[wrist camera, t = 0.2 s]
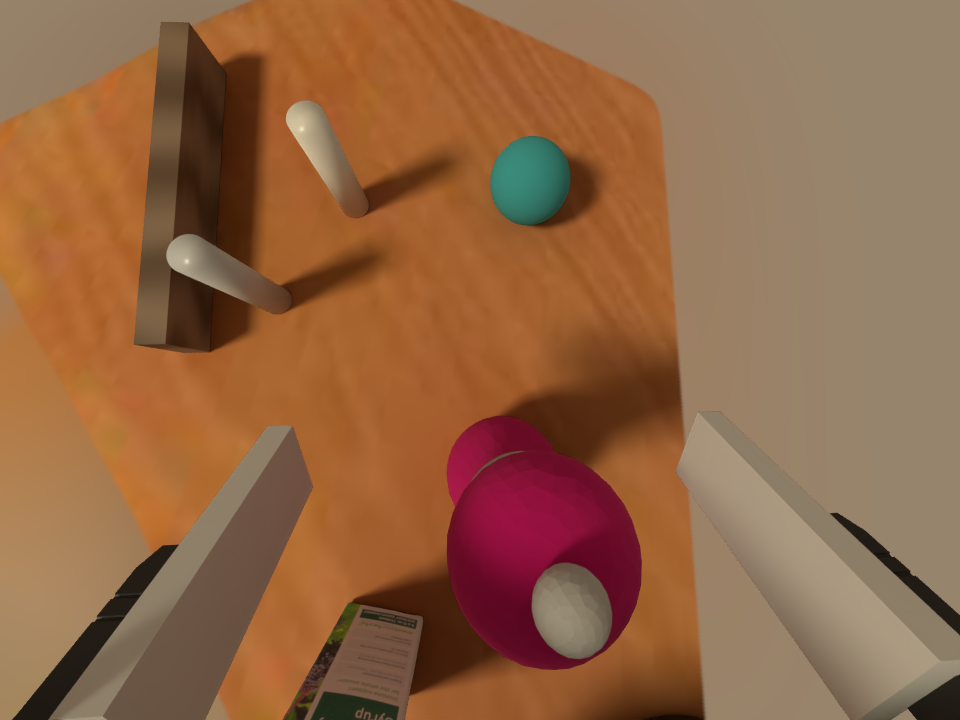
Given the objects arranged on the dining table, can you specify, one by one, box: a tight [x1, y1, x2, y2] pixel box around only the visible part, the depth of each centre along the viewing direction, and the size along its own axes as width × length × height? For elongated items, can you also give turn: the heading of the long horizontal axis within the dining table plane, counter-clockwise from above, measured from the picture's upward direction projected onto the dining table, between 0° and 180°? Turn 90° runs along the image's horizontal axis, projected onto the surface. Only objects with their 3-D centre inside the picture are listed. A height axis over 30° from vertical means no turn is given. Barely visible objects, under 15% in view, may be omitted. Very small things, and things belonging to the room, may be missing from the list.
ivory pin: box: [286, 101, 369, 218], centre depth 24 cm, size 2×2×9 cm
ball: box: [490, 136, 571, 225], centre depth 26 cm, size 6×6×6 cm
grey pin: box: [166, 234, 292, 314], centre depth 23 cm, size 2×2×9 cm
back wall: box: [134, 22, 226, 353], centre depth 26 cm, size 24×2×4 cm, turn 2°
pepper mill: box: [447, 416, 642, 670], centre depth 17 cm, size 7×7×20 cm
